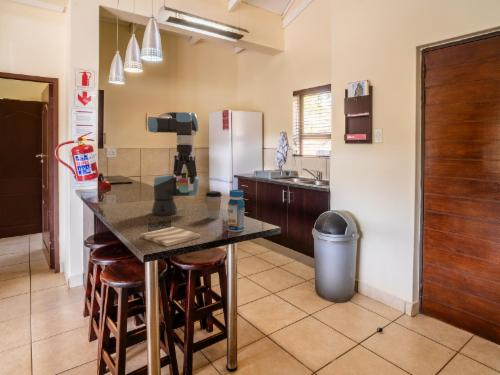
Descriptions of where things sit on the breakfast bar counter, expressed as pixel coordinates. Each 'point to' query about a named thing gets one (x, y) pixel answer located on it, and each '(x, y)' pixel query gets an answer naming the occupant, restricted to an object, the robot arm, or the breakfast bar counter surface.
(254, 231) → the breakfast bar counter surface
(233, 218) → the beverage bottle
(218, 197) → the coffee cup
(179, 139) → the robot arm
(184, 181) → the cupcake
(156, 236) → the serving board
